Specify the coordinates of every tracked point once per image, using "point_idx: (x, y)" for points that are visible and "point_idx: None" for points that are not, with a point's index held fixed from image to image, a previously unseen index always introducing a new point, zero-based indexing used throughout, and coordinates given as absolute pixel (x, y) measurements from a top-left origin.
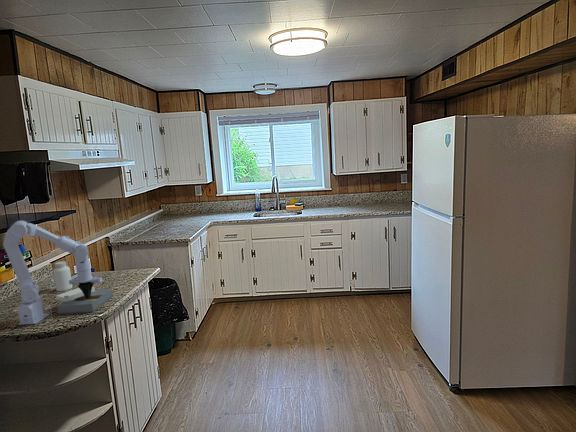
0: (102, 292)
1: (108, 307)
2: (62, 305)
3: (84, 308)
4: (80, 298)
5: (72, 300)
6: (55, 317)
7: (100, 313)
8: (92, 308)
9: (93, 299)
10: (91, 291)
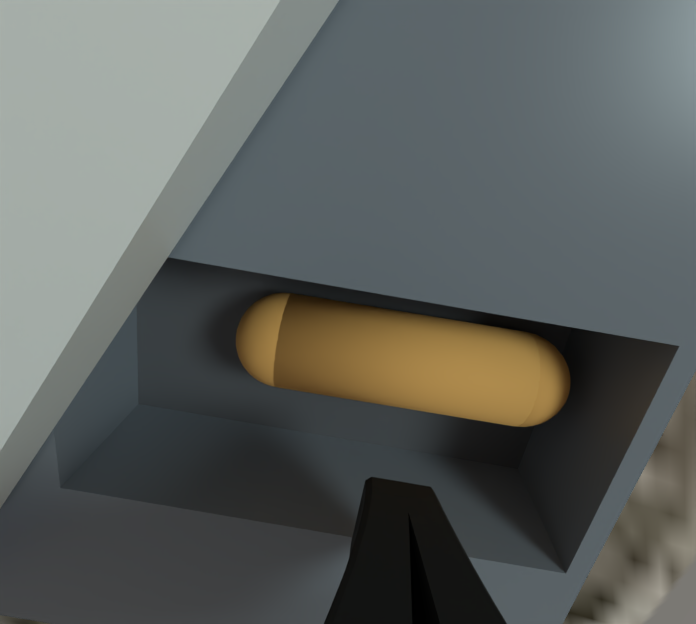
0: (671, 106)
1: (666, 488)
2: (30, 612)
3: None
4: None
5: (58, 439)
6: None
7: (577, 619)
8: None
9: (456, 392)
10: (315, 17)
